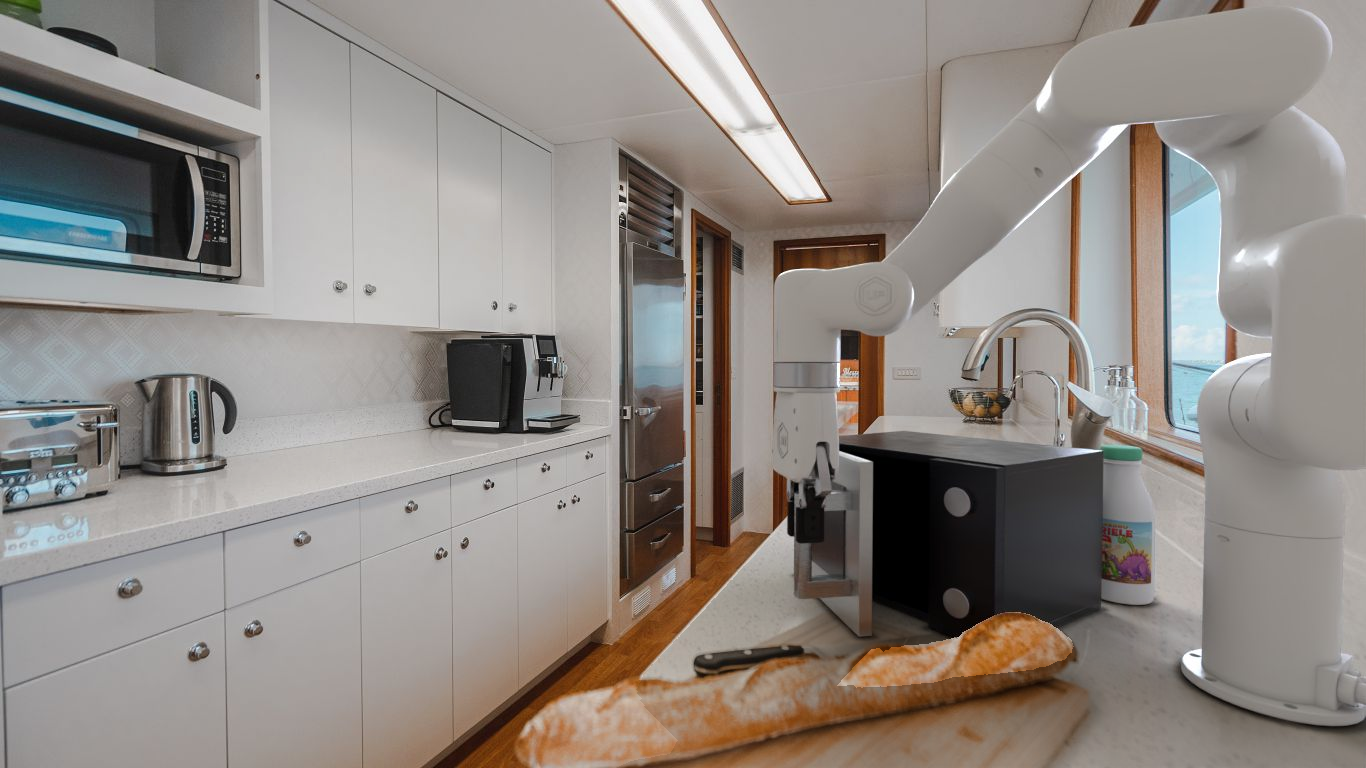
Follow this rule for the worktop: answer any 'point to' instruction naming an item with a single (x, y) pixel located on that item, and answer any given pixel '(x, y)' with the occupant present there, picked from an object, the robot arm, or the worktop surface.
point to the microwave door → (842, 548)
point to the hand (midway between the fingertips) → (805, 537)
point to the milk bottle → (1127, 529)
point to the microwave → (983, 527)
